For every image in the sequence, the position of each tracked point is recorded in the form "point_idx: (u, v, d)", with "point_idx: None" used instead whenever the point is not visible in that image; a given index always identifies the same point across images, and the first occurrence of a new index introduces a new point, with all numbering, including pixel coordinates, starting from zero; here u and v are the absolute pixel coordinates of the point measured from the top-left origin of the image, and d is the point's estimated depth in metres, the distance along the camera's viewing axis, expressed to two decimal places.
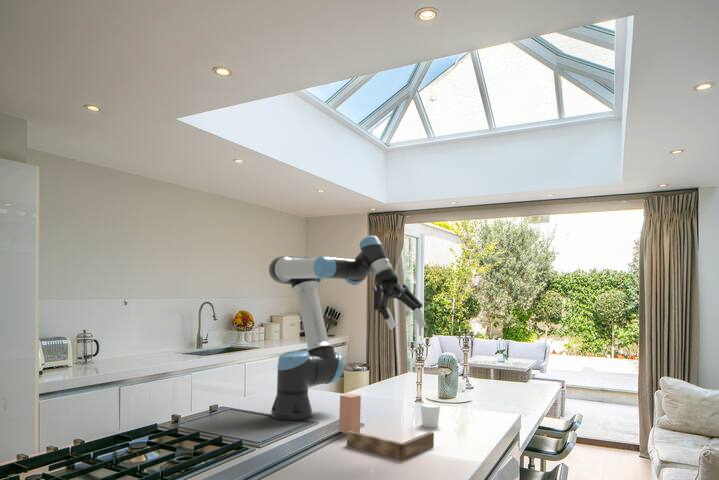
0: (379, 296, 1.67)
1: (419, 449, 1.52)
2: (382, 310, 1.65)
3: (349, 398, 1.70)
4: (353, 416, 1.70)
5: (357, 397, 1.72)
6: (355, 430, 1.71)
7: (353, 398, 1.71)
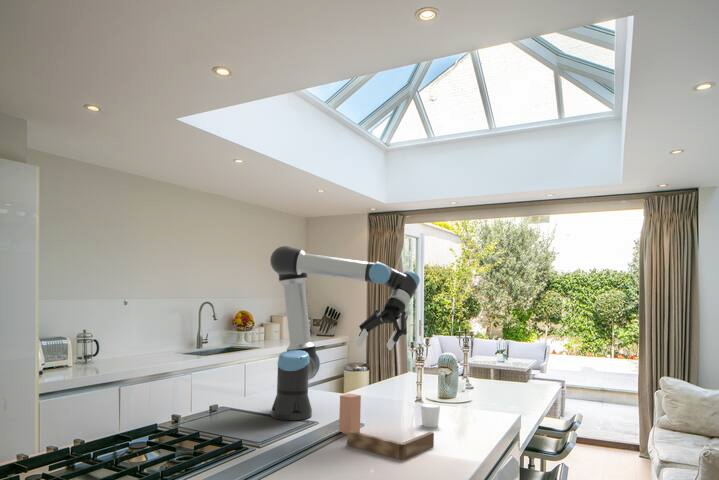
0: None
1: (419, 449, 1.52)
2: (399, 334, 1.83)
3: (349, 398, 1.70)
4: (353, 416, 1.70)
5: (357, 397, 1.72)
6: (355, 430, 1.71)
7: (353, 398, 1.71)
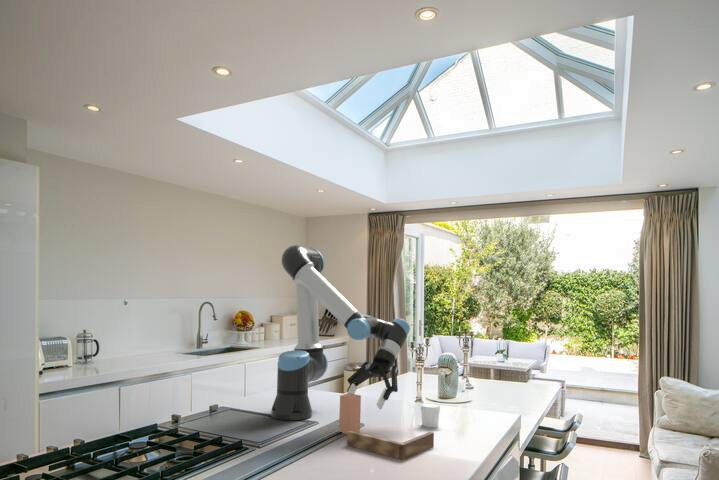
0: None
1: (419, 449, 1.52)
2: (390, 392, 1.75)
3: (349, 398, 1.70)
4: (353, 416, 1.70)
5: (357, 397, 1.72)
6: (355, 430, 1.71)
7: (353, 398, 1.71)
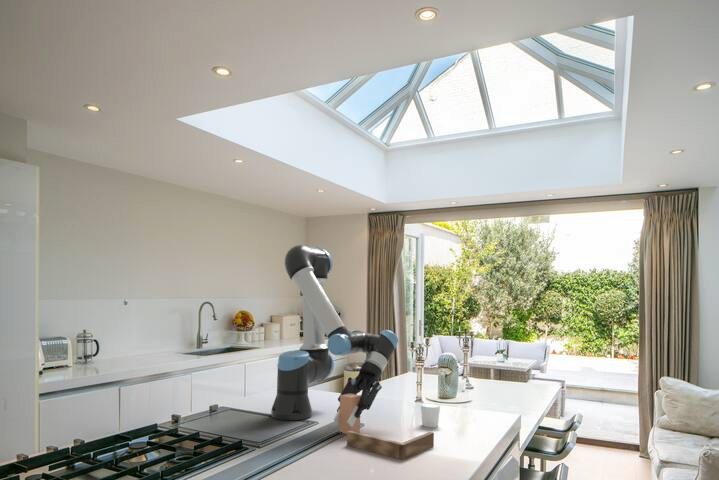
0: None
1: (419, 449, 1.52)
2: (362, 409, 1.71)
3: (349, 398, 1.70)
4: None
5: (357, 397, 1.72)
6: (355, 430, 1.71)
7: (353, 398, 1.71)
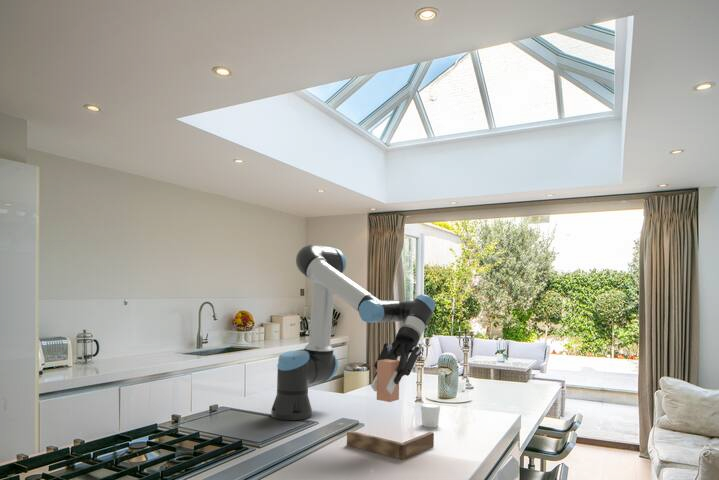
0: None
1: (419, 449, 1.52)
2: (401, 375, 1.59)
3: (388, 363, 1.58)
4: None
5: (396, 362, 1.60)
6: (394, 397, 1.59)
7: (392, 363, 1.59)
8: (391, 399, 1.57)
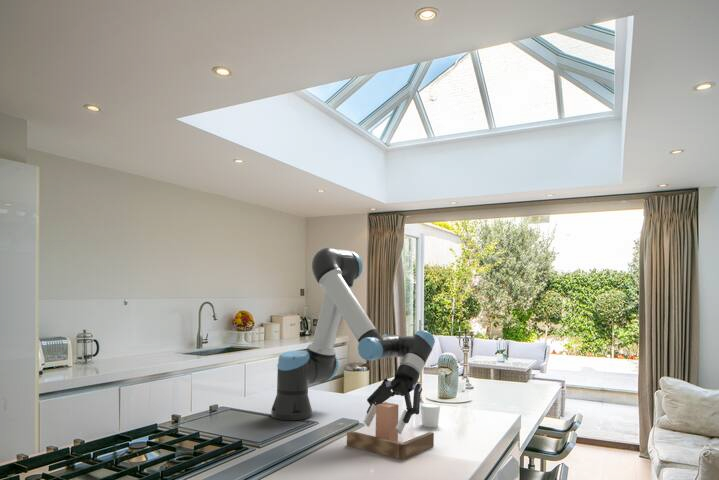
0: None
1: (419, 449, 1.52)
2: (411, 414, 1.57)
3: (387, 408, 1.57)
4: (391, 428, 1.57)
5: (395, 407, 1.59)
6: None
7: (391, 408, 1.57)
8: None
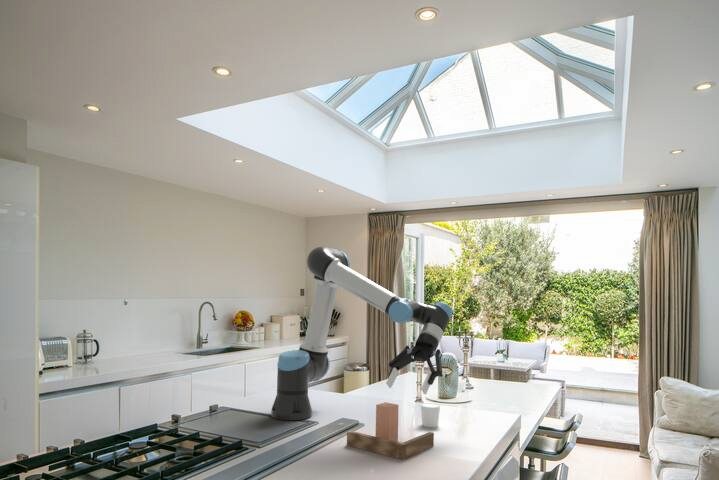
0: None
1: (419, 449, 1.52)
2: (435, 376, 1.68)
3: (387, 408, 1.57)
4: (391, 428, 1.57)
5: (395, 407, 1.59)
6: None
7: (391, 408, 1.57)
8: None
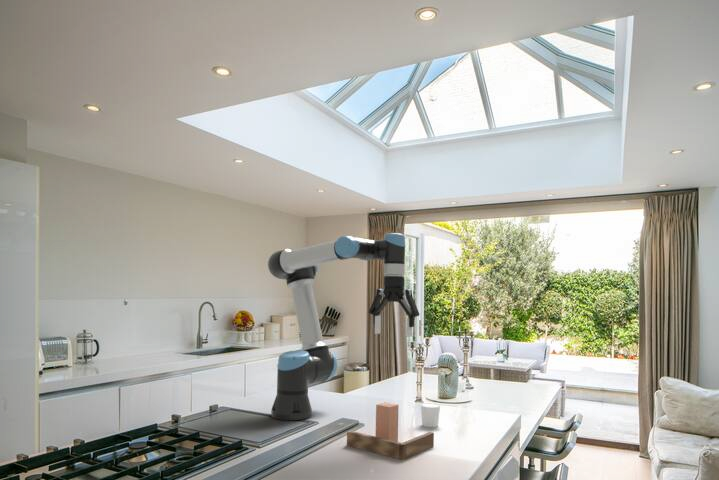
0: None
1: (419, 449, 1.52)
2: (413, 318, 1.80)
3: (387, 408, 1.57)
4: (391, 428, 1.57)
5: (395, 407, 1.59)
6: None
7: (391, 408, 1.57)
8: None
